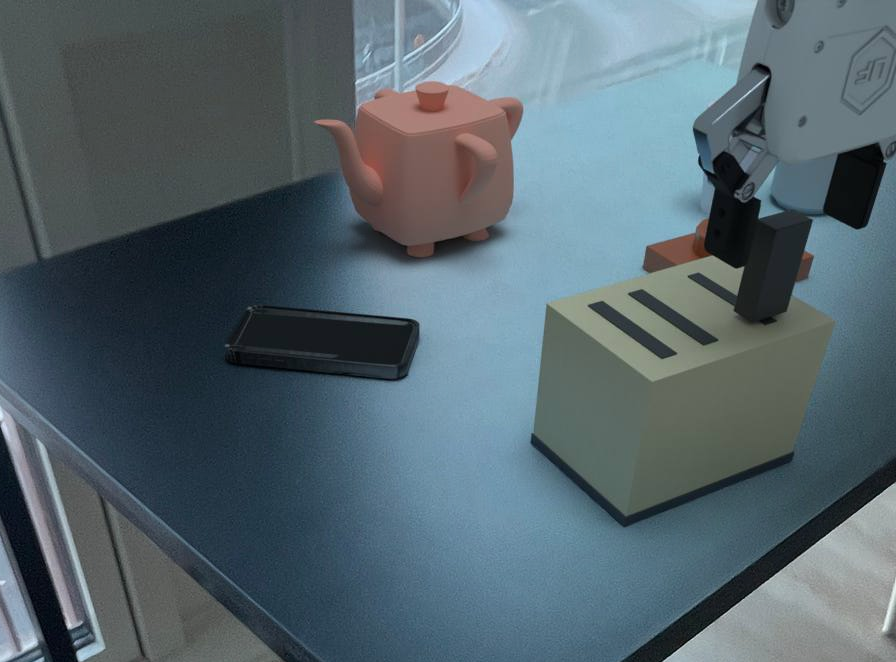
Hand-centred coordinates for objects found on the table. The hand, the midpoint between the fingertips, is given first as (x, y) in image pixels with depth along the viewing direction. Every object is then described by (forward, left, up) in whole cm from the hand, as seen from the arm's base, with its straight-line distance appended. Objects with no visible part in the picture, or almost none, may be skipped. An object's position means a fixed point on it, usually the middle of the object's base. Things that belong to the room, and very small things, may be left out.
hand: (785, 239), depth 62 cm
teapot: (+1, -43, -16) cm, 46 cm away
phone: (+19, -28, -16) cm, 37 cm away
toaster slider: (0, 0, -5) cm, 5 cm away
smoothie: (-28, -33, -16) cm, 46 cm away
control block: (-19, -22, -16) cm, 33 cm away
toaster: (+4, -3, -16) cm, 17 cm away
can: (-37, -30, -16) cm, 50 cm away
